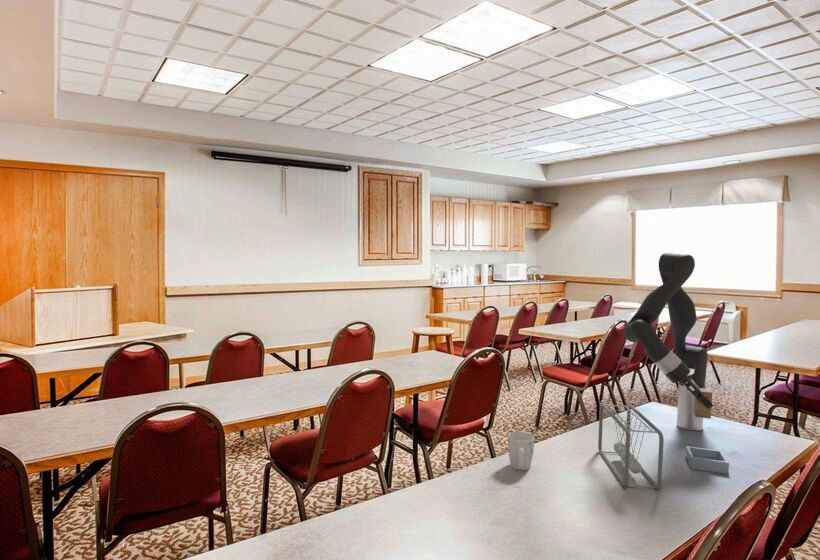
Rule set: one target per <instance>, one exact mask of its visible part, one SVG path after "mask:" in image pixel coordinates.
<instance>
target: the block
mask: <svg viewBox="0 0 820 560" xmlns="http://www.w3.org/2000/svg"><path fill="white" fill-rule="evenodd" d="M701 392H702V393H703V394H704V395H705V397H706V398H707V399H708V400H709V401H710V402H711V403H712V404H713V392H712V390H711V389H709V388H705V389H701ZM699 395H701V394H700V393H698V394H696V396H697V397H698V396H699ZM694 415H695V417H701V418H703V419H709V420H710V419H712V407H711V408H709V409H708V408H706V407H705V405H704V404H703V403H702V402H701V401H699V400H697V398H696V397H695V398H694Z"/></svg>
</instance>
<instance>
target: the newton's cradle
mask: <svg viewBox="0 0 820 560" xmlns="http://www.w3.org/2000/svg"><path fill="white" fill-rule="evenodd" d="M613 407H622V408H623V407H624V408H625V410H623V409H622V410H621V411H626V417H625V416H624V417H623V416H622V417H621V415H620V413H618V412H616V410H615V409H613ZM609 408H610V409H609ZM626 409H627V410H626ZM604 410H605V412H606V413H607V414H608V415H609V416H610V417H611V418H612V419H613V420H614V421H615V424H616V425H615V429H616V430H618V428H619V430H621V429H622V433H621V431H619V432H616V435H617V437H619V435H620V440H619V438H617V441H615V443H614V444H613V450H614V451H603V446H602V445H603V424H604V423H603V420H604V419H603V418H604ZM611 410H612V411H613V412H612V411H611ZM615 414H616V415H615ZM633 416H635V417H634V418H635V421H634V425H632V423H633V421H632V420H633ZM598 417H599V418H598V444H597V447H598V452H599V453H600V455H601V457H602V458H603V460H604V461H605V462H606V464H607V466H608V467H609V468H610V470H611V472H612V473H613V475H614V476H615V477H616V479H617V480H618V482H619V483H620V485H621V487H623V489H626V488H628V487H635V488H648V489H655V490H656V491H660V490H661V489H662V486H663V484H662V482H663V464H664V463H663V461H664V460H663V459H664V439H665V438H664V435H663V432H662V431H661V430H660V429H659V428H658V427H657V426H655V424H654V423H652V422H651V421H650V420H649V419H648V418H647V417H646V416H645V415H644V414H642V413H641V412H640V411H639V410H638V409H637V408H636V407H635V406H634V405H632V404H628V405H620V404H618V405H617V404H605V403H603V402H601V403H600V405H599V415H598ZM619 418H620V419H619ZM624 418H626V420H624ZM637 420H639V423H640V424H639V426H638V427H639V428H638V430H637V429H636V430H635V428H636V424H637ZM641 424H643V425H644V429H643V430H640V428H641V426H642V425H641ZM617 425H618V427H617ZM631 426H632V427H634V428H632V427H631ZM646 429H647V430H646ZM631 432H632V434H631ZM618 433H619V434H618ZM634 433H637V436H636V440H635V443H634V448H633V447H631V446H633V443H632V440H633V436H634ZM639 433H642V437H641V440H640V441H641V442H640V445H639V449H638V453H637V458H636V457H635V456H634V453H635V448H636V445H637V441H638V436H639ZM645 433H648V434H649V433H650V434H651V433H653V434H658V439H659V440H658V461H657V462H658V463H657V483H656V481H655V480H654V479H653V478H652V477H651V475H649V473H648V472H647V471H646V469H645V468H644V467H643V466H642V464H641V463H640V462H639V461H638V459H639V454H640V451H641V447H642V442H643V439H644V434H645ZM624 437H625V438H624ZM623 441H624V443H623ZM630 447H631V448H630ZM630 449H631V451H632V452H630ZM605 453H606V454H617V455H618V456H619V458H620V459H621V461H622V462H623V463H624V474H623V475H624V477H623V478H624V479H623V478H622V477H621V475H620V474H619V473H618V471H617V470H616V468H615V467H614V465H613V464H612V463H611V461H610V460H609V458H608V457H607V455H606V454H605ZM630 472H631V473H632V474H635V475H637V474H640V473H642V474H643V475H644V477H645V478H646V479H647V481H649V482H650V484H651V486H648V485H637V484H636V485H635V484H634V485H633V484H629V479H630V478H629V475H630Z"/></svg>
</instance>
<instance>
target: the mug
mask: <svg viewBox="0 0 820 560" xmlns="http://www.w3.org/2000/svg"><path fill="white" fill-rule="evenodd" d="M507 445H508V446H507V449H508V457H509V464H510V466H511V468H512V469H514V470H518V471H526V470H527V471H528V470H529V469H530V468H531V466H532V461H533V457H534V456H533V455H534V450H535V436H534V435H533V434H531V433H530V432H525V431H511V432H509V433H508V435H507Z"/></svg>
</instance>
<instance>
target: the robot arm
mask: <svg viewBox="0 0 820 560" xmlns="http://www.w3.org/2000/svg"><path fill="white" fill-rule="evenodd" d="M695 266H696V262H695V258H694V256H692V255H691V254H687V253H680V252H664V253H662V254H661V255H660V257H659V259H658V270H659V271H658V273H659V277H660V279H661V282H662V284H661V285H660V286H658V287H656V288H655V289H653V290H652V291H651V292H650V293H649V294H647V296H646V297H645V298H644V299H643V301H642V303H641V304H640V306H639V308H638V310H637V311H636V313H635V314H634V315H633V316H632V317H631V318H630V319H629V321H628V322H627V324H626V325H625V327H624V329H623V335H624V337H625V339H626V340H627V341H629V342H631V343H638V342H641V344H642V346H644V348H643V352H644V353H645V355H646V356H647V357H648V358H649V359H650V360H651V362H653V363H654V364H655V366H656V367H657V369H659V371H660V372H662V374H663V375H664V376H665V377H666V378H667V379H668V380H669V381H670V382H671V383H672V384H676V383H678V389H677V391H678V394H677V408H676V409H677V410H676V411H677V414H676V415H677V416H676V426H677V427H679V428H680V429H683V430H688V431H696V432H697V431H702V430H703V428H704V418H701V417H695V415H694V398H695V397H696V398H697V400H699V401H701V402H702V403H703V404H704V405H705V407H706V408H708V409H709V408H711V409H712V407H713V406H714V403H713V402H712V403H711V402H710V401H709V400H708V399H707V398H706V397H705V395H704V394H703V393H702V392H701V389H706V388H705V386H706V385H705V384H706V378H707V369H708V368H707V367H708V358H709V357H708V356H709V355H708V351H707V349H706V348H704V347H700V346H695V345H689V344H687V342H686V338H687V336H688V335H689V333H690V332H691V330H692V329H693V328H694V326H695V325H696V323H697V311H696V306H695V305H696V304H695V302H694V301H693V300H692V298H691V297H690V295H689V294H688V293H687V292H686V291H685V290H684V288H683V287H682V286H683V285H684V284H685V283H686V281H688V279H689V278H690V277H691V275H692V274H693V272H694V271H695ZM666 306H667V307H668V314H669V320H670V325H671V328H672V329H671V331H672V334H673V335H672V337H673V346H674V351H672V350H671V349H670V348H668V346H667V345H666V344H665V343H664V342H662V340H661V338H660V337H659V335H658V334H657V331H656V330H655V328H653V326H652V324H653V323H654V322H655V321H657V320H658V318H659V317H660V315H661V313H662V312H663V310H664V309H665V307H666ZM691 370H694V371H693V373H692V374H691ZM698 393H700V394H701V395H699V396H698V397H697V396H696V394H698Z"/></svg>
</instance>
